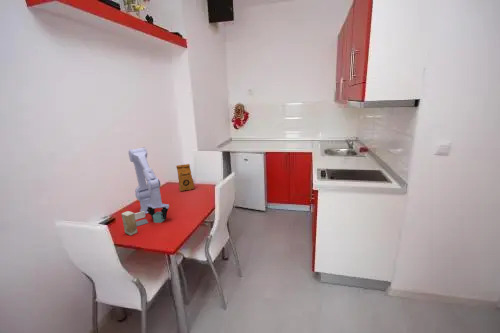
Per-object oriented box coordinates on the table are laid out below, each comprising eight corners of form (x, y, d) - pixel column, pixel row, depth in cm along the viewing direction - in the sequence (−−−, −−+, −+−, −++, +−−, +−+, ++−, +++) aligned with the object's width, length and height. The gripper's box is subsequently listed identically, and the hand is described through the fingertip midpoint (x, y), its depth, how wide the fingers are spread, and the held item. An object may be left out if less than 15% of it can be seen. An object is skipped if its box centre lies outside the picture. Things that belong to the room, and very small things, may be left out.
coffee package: (194, 190, 202) (191, 164, 197) (179, 192, 200) (175, 166, 194) (194, 186, 212) (191, 162, 206) (179, 188, 209) (176, 164, 204)
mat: (134, 222, 151) (134, 222, 151) (145, 219, 155) (145, 218, 155) (136, 226, 145) (136, 226, 145) (148, 223, 149) (148, 222, 149)
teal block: (154, 222, 149) (152, 215, 148) (158, 218, 154) (157, 211, 153) (161, 222, 148) (160, 215, 147) (165, 219, 153) (164, 211, 152)
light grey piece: (125, 222, 152) (123, 216, 151) (145, 216, 159) (144, 210, 158) (128, 230, 142) (127, 223, 141) (149, 223, 148) (148, 217, 147)
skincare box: (124, 233, 139) (120, 213, 135) (131, 229, 142) (128, 210, 139) (131, 235, 135) (126, 215, 132) (138, 232, 138) (134, 212, 135)
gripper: (141, 200, 145) (145, 221, 148) (163, 200, 142) (166, 221, 146) (148, 196, 152) (151, 216, 155) (169, 196, 149) (172, 216, 152)
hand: (159, 218), depth 151 cm, fingers open, 7 cm apart
